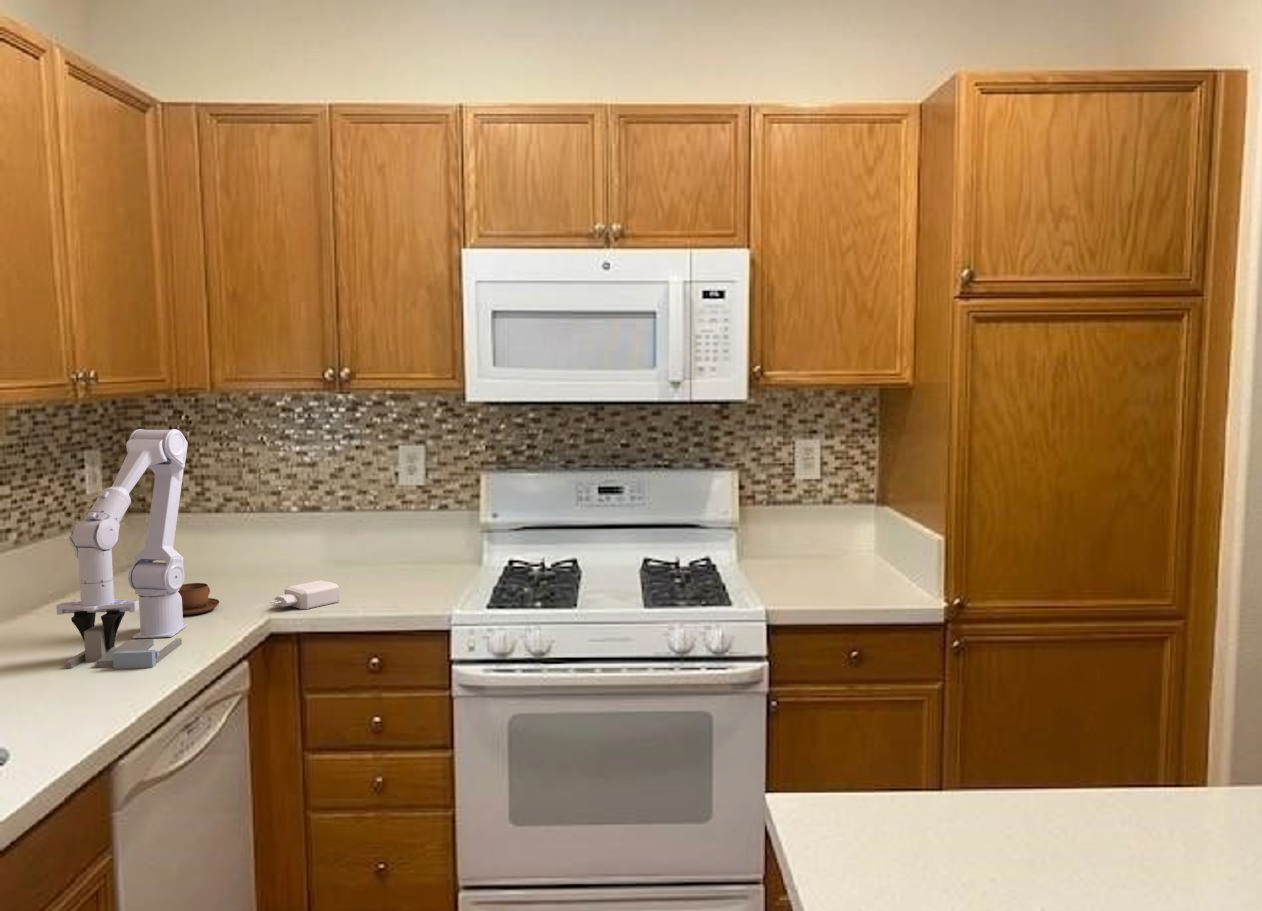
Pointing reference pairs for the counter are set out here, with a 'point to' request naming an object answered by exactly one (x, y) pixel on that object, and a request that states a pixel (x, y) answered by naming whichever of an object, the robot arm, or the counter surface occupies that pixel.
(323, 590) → the charger
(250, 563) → the counter surface
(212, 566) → the counter surface
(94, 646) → the tall taupe box
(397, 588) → the counter surface
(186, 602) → the cup and saucer
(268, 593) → the counter surface
